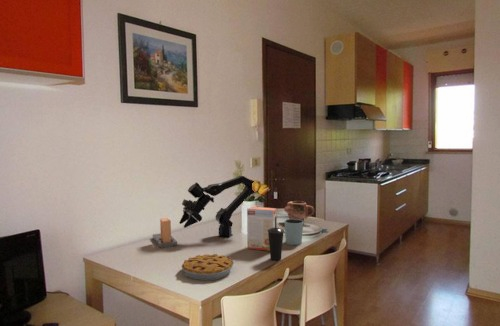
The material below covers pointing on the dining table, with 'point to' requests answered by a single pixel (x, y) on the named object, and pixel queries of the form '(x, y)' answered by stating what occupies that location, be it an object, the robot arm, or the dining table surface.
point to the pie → (207, 267)
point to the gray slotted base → (160, 242)
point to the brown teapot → (298, 210)
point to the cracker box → (259, 227)
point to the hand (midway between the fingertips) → (181, 225)
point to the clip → (165, 230)
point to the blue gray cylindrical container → (293, 231)
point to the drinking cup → (275, 242)
